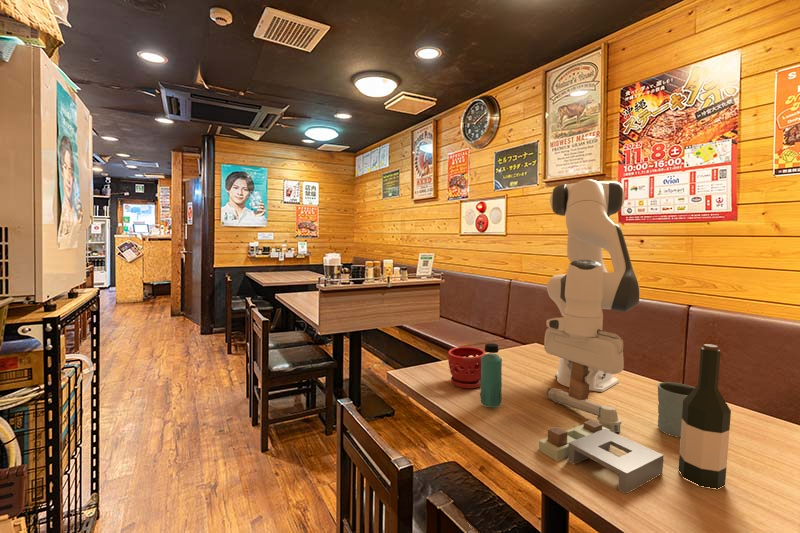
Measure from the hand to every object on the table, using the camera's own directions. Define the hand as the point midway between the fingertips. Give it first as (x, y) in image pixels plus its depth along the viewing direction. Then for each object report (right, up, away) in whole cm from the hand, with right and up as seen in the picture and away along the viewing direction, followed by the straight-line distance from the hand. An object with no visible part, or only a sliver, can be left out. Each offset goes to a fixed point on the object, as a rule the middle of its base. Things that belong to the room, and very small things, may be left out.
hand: (579, 380), depth 101 cm
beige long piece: (+9, -16, +20) cm, 27 cm away
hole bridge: (+4, -18, -8) cm, 20 cm away
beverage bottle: (-17, -15, +23) cm, 33 cm away
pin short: (+6, -17, +6) cm, 19 cm away
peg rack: (0, -17, +2) cm, 17 cm away
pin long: (0, -4, 0) cm, 4 cm away
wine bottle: (+22, -19, -12) cm, 31 cm away
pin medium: (-6, -17, -1) cm, 19 cm away
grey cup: (+31, -17, +10) cm, 37 cm away
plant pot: (-21, -14, +43) cm, 50 cm away
